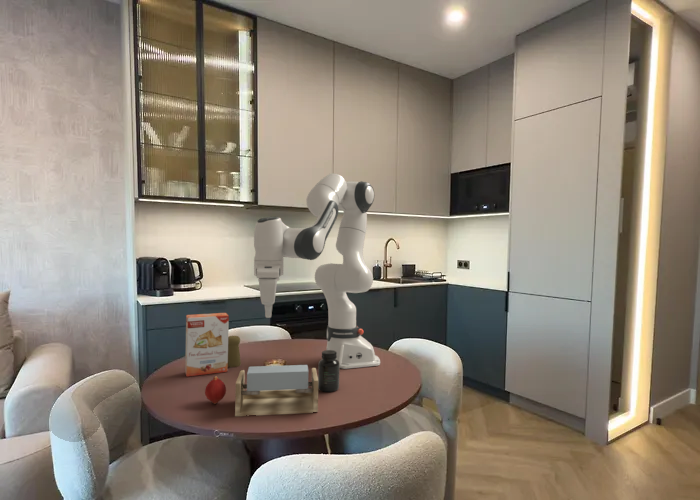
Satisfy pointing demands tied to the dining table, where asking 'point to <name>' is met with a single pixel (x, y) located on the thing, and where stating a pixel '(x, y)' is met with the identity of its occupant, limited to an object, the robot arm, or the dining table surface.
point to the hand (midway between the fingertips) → (268, 314)
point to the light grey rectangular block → (277, 377)
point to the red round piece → (215, 390)
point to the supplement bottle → (328, 372)
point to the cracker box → (206, 344)
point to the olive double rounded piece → (233, 351)
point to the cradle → (275, 399)
